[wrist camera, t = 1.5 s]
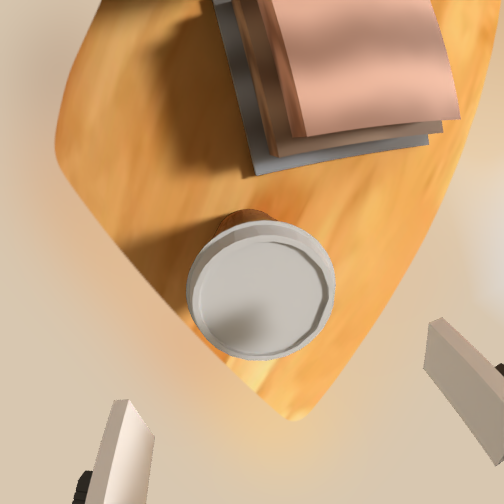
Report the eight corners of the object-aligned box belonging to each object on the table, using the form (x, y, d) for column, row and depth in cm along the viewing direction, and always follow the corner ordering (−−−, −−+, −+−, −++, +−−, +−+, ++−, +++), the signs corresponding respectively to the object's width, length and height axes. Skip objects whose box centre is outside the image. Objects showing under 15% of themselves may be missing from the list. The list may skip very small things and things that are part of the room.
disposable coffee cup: (249, 304, 32) (264, 386, 21) (176, 244, 29) (152, 309, 18) (317, 239, 30) (369, 295, 19) (247, 169, 27) (265, 189, 16)
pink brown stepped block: (211, -3, 21) (208, -58, 12) (383, -11, 21) (431, -46, 12) (255, 174, 27) (272, 190, 18) (422, 144, 28) (486, 152, 19)
